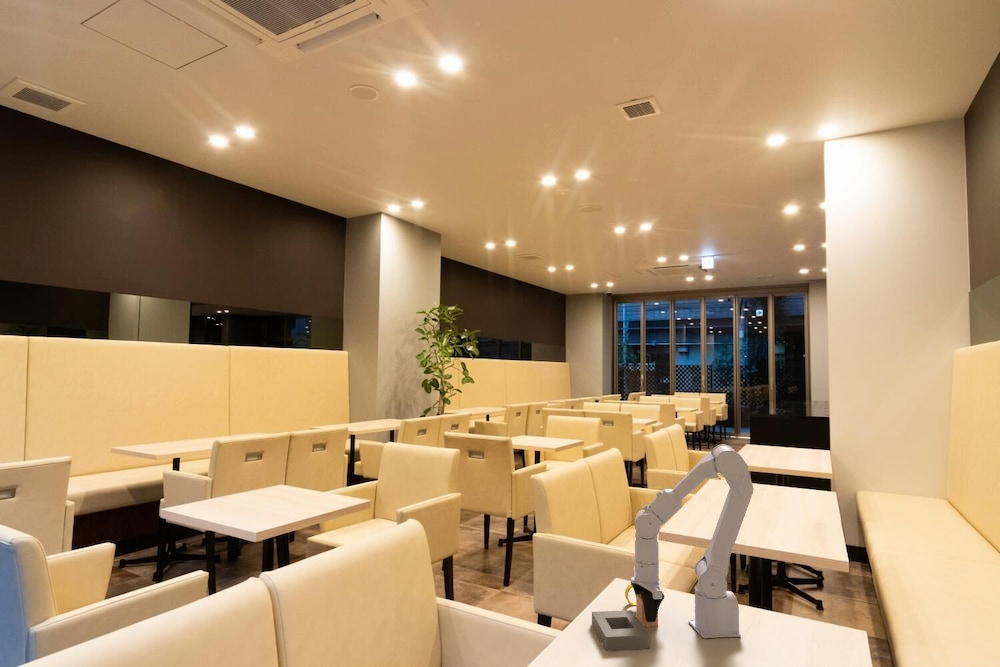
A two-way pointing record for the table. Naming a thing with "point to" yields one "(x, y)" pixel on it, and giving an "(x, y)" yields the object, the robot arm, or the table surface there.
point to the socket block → (620, 630)
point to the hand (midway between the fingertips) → (647, 616)
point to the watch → (627, 594)
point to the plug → (643, 613)
